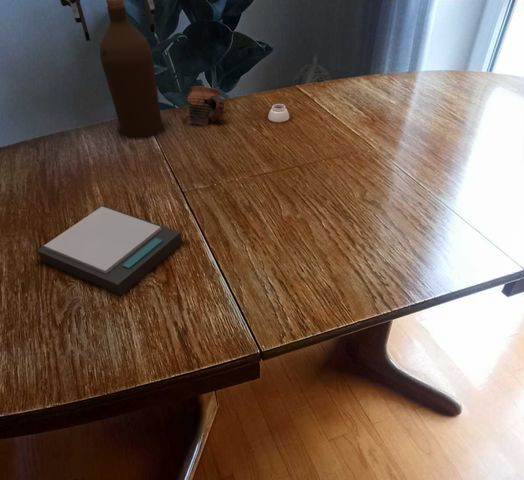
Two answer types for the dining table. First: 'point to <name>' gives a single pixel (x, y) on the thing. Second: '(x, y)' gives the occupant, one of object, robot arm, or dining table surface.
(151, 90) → the olive oil
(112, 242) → the kitchen scale
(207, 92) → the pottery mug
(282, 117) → the lidless jar
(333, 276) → the dining table surface
